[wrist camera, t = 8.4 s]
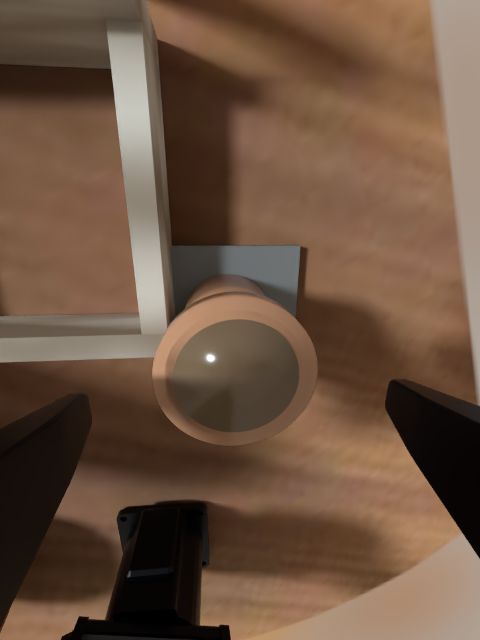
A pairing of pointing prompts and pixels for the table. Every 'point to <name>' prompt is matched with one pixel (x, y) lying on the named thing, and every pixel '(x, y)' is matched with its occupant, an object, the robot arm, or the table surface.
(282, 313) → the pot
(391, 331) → the table surface
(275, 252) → the pad
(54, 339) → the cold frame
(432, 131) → the table surface
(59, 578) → the table surface
